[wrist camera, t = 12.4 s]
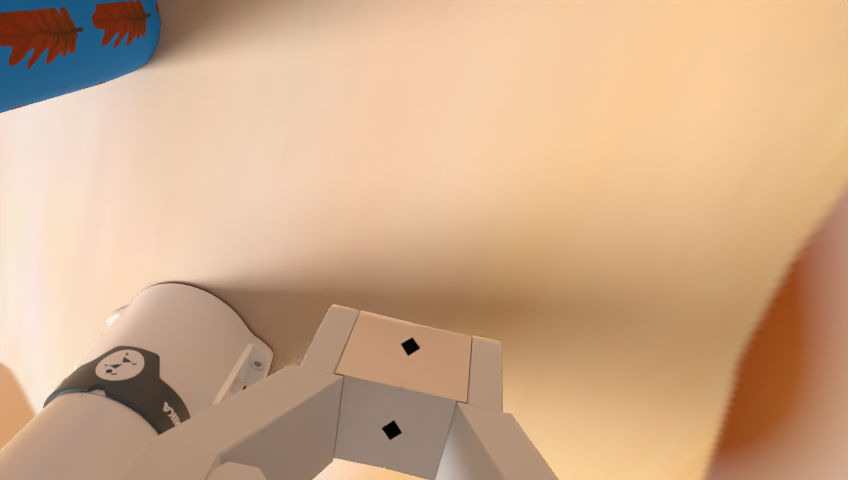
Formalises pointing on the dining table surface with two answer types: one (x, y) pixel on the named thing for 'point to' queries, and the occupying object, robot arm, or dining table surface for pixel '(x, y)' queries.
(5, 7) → the thermos
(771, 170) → the dining table surface
